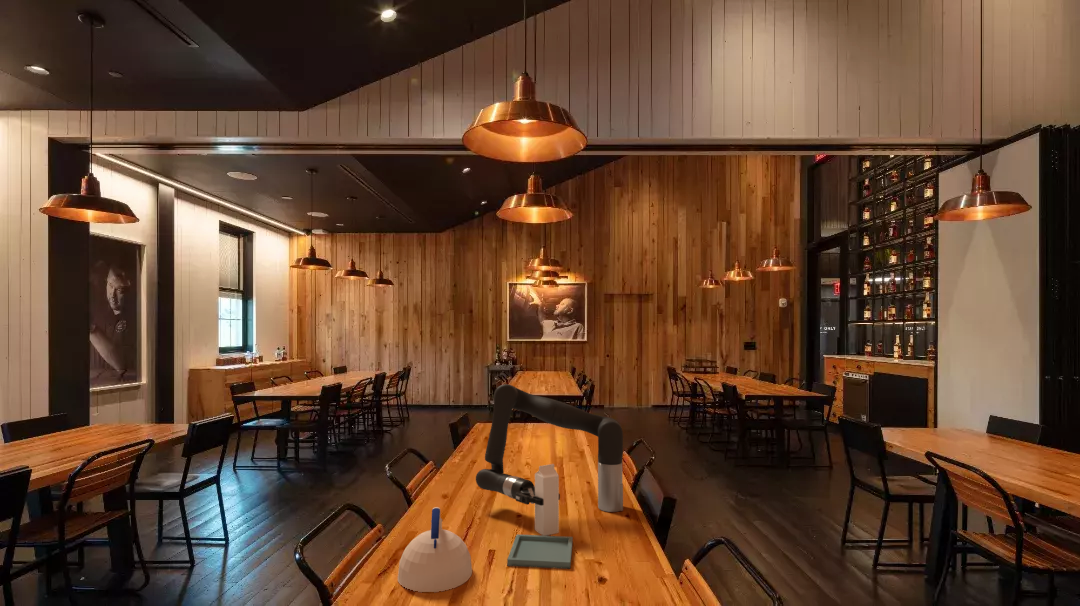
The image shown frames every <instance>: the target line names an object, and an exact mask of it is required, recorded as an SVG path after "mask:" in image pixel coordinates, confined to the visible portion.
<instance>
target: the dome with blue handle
mask: <svg viewBox="0 0 1080 606" xmlns="http://www.w3.org/2000/svg"><path fill="white" fill-rule="evenodd" d="M472 574H473V568H472V557H471V553H470V551H469V549H468V546H467V544H466V543H465V542H464V541H463V539H462V538H461V536H458V534H456V533H455V532H452V531H450V530H447V529H443V519H442V518H441V508H440V507H438V506H436V507H433V508H432V510H431V520H430V530H426V531H423V532H422V533H421V532H420V534H418V535H417V536H416V537H414V538H413V539H412V540H411V541H410V542H409V543H408V544H407V546H406V547H405V549H404V550H403V551H402V555H401V558H400V559H399V564H398V573H397V582H398V583H399V584H400V586H401V585H402V587H403V588H404V587H405V588H404V589H406V588H407V589H406V590H408V589H410V590H409V591H411V590H413V591H412V592H415V591H418V592H417V593H422V592H434V593H440V592H439V591H441V592H446V591H449V589H450V590H453V589H455V588H458V587H460V586H462V585H463V584H465V583H466V582H467V581H468V580H469V579H470V577H472ZM452 588H453V589H452ZM445 590H446V591H445Z"/></svg>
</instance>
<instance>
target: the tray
mask: <svg viewBox="0 0 1080 606" xmlns="http://www.w3.org/2000/svg"><path fill="white" fill-rule="evenodd" d="M573 539H574V538H573V536H566V535H565V536H562V535H547V536H542V535H541V534H539V535H535V534H516V536H515V538H514V541H513V543H512V546H511V549H510V551H509V554H508V557H507V559H506V560H507V561H506V564H507V567H522V568H523V567H526V568H546V569H566V570H567V569H568V570H570V569H571V565H572V564H571V562H572V552H573V545H574V544H573Z"/></svg>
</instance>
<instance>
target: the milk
mask: <svg viewBox="0 0 1080 606" xmlns="http://www.w3.org/2000/svg"><path fill="white" fill-rule="evenodd" d="M559 477H560V476H559V474H558V472H557V470H556V469H555V463H551V464H545V465H539V466H538V470H537V472H535V473H534V486H535V496H537V497H540V498H543V500H544V505H542V506H541V505H538V504H535V503H534V531H535V532H537V533H538V534H539V535H542V536H552V535H555V534H558V533H560V529H559V528H560V527H559V526H560V524H559V522H560V520H559V519H560V515H559V514H560V513H559V512H560V511H559V510H560V504H559V503H560V502H559V501H560V500H559V494H560V489H559V488H560V483H559V482H560V481H559V480H560V479H559Z"/></svg>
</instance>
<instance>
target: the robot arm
mask: <svg viewBox="0 0 1080 606" xmlns="http://www.w3.org/2000/svg"><path fill="white" fill-rule="evenodd" d="M493 393H494V394H493V415H492V422H491V426H490V432H489V435H488V439H487V444H486V448H485V453H484V460H485V462H487V463H489V464H490V465H491V468H483V469H481V470H479V471H478V472H477V473H476V475H475V482H476V485H477V486H478V487H479V488H480V489H481V490H486V491H490V492H496V493H499V494H502V495H504V496H507V497H509V498H511V499H512V500H515V501H516V502H519V503H521V504H525V505H526V506H527V505H530V504H533V505H535V504H538V505H541V506H542V505H544V500H543V498H540V497H537V496H535V483H533V482H532V481H531V480H529V479H526V478H524V477H520V476H517V475H511V474H509V473H508V474H507V473H505V472H504V456H505V450H506V445H507V438H508V437H507V436H508V428H509V421H510V418H511V414H512V411H513V410H516V411H521V412H524V413H527V414H528V415H531V416H533V417H535V418H537V419H539V420H540V421H542V422H544V423H548V424H550V425H552V426H556V427H558V428H562V429H568V430H575V431H582V432H586V433H587V434H588V433H589V434H591V435H593V436H595V437H597V450H598V452H597V507H598V509H599V510H601V511H603V512H609V513H610V512H611V513H615V512H623V511H624V485H623V484H624V483H623V455H624V432H623V429H622V426H621V424H620V423H619V421H617V420H616V419H614V418H613V417H607V416H602V415H599V414H593V413H590V412H587V411H585V410H583V409H582V408H581V409H580V408H578V407H577V406H573V405H570V404H568V403H565V402H563V401H560V400H557V399H553V398H548V397H545V396H539V395H535V394H531V393H528V392H526V391H525V390H522V389H520V388H518V387H516V386H514V385H513V384H508V383H504V384H501V385H499V386H497V387H496V388H495V390H494V392H493ZM560 498H561V493H559V501H560V500H561V499H560Z"/></svg>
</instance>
